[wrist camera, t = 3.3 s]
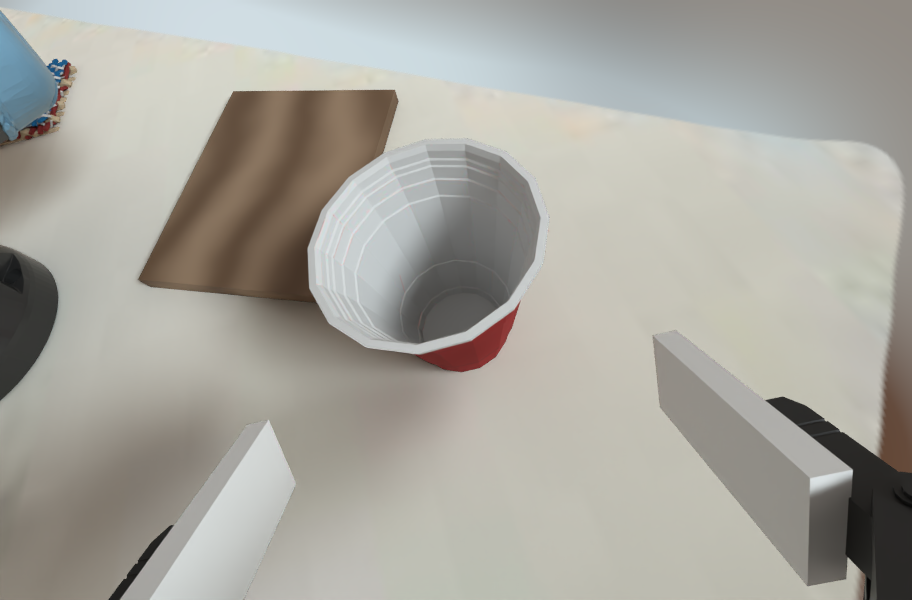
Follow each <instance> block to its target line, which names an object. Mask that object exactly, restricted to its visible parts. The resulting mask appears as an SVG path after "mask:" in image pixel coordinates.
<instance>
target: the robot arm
mask: <svg viewBox="0 0 912 600" xmlns="http://www.w3.org/2000/svg"><path fill="white" fill-rule="evenodd" d="M57 96H58V87H57V83H56V80H55V78H54V76H53V75H52V73H51V71H50V70H49V69H48V67H47V66H46V65H45V63H44V62H43V61H42V60H41V58H40V57H39V56H38V55H37V53H36V52H35V51H34V50H33V49H32V47H31V46H30V45H29V44H28V42H27V41H26V40H25V39H24V38H23V36H22V35H21V34H20V33H19V32H18V31H17V29H16V28H15V27H14V26H13V25H12V23H11V22H10V21H9V20H8V19H7V18H6V16H5V15H4V14H3V13H2V12H1V11H0V144H1V143H2V142H4V141H6V140H7V139H8V140H10V141H13V140H15V139H16V138H17V137H18V132H19V131H20V130H22V129H23V128H24V127H26V126H27V125H29V124H30V123H31V122H33V121H34V120H36V119H37V118H39V117H40V116H41V115H43V114H44V113H46V112H47V111H48V110H50V109H51V108H52V107H53V105H54V104H55V103H56V101H57ZM57 304H58V295H57V287H56V283H55V281H54V278H53V276H52V274H51V273H50V272H49V270H48V269H47V268H46V267H45V266H44V265H42V264H41V263H39V262H38V261H36V260H34V259H32V258H30V257H28V256H26V255H24V254H22V253H20V252H18V251H16V250H14V249H11V248H8V247H6V246H3V245H0V400H1V399H2V398H3V397H4V396H5V395H6V394H7V393H8V392H10V391H11V390H12V389H13V387H14V386H15V385H16V384H17V383H18V382H19V381H20V380H21V379H22V378H23V376H24V375H25V374H26V373H27V371H28V370H29V369H30V367H31V366H32V365H33V363H34V362H35V360H36V359H37V357H38V356H39V354H40V352H41V351H42V349H43V347H44V345H45V343H46V341H47V339H48V337H49V335H50V332H51V330H52V327H53V324H54V320H55V317H56V312H57ZM653 344H654V354H655V364H656V373H657V383H658V393H659V403H660V408H661V409H662V410H663V411H664V413H665V414H666V415H667V416H668V418H669V419H670V420H671V421H672V422H673V424H674V425H675V426H676V427H677V428H678V430H679V431H680V432H681V433H682V435H683V436H684V437H685V438H686V439H687V441H688V442H689V443H690V444H691V445H692V447H693V448H694V449H695V450H696V452H697V453H698V454H699V455H700V456H701V458H702V459H703V460H704V461H705V462H706V464H707V465H708V466H709V467H710V468H711V470H712V471H713V472H714V473H715V475H716V476H717V477H718V478H719V479H720V481H721V482H722V483H723V484H724V485H725V487H726V488H727V489H728V490H729V492H730V493H731V494H732V495H733V496H734V498H735V499H736V500H737V501H738V502H739V504H740V505H741V506H742V507H743V509H744V510H745V511H746V512H747V513H748V515H749V516H750V517H751V518H752V519H753V521H754V522H755V523H756V524H757V526H758V527H759V528H760V529H761V530H762V532H763V533H764V534H765V535H766V536H767V538H768V539H769V540H770V541H771V543H772V544H773V545H774V546H775V547H776V549H777V550H778V551H779V552H780V553H781V555H782V556H783V557H784V558H785V559H786V561H787V562H788V563H789V564H790V566H791V567H792V568H793V569H794V570H795V572H796V573H797V574H798V575H799V576H800V578H801V579H802V580H803V581H804V583H805V584H806V585H807V586H811V585H817V584H822V583H827V582H833V581H838V580H844V579H846V572H847V557H848V558H849V559H850V560H851V561H852V562H853V563H854V564H855V565H856V566H857V567H858V568H859V569H860V570H861V571H862V572H863V573H864V574H865V586H864V598H863V600H912V473H906V472H898V471H897V470H895V469H894V468H892V467H891V466H890V465H888V464H887V463H885V462H884V461H883V460H881V459H880V458H878V457H877V456H876V455H874V454H873V453H871V452H870V451H869V450H867V449H866V448H864V447H863V446H862V445H860V444H859V443H857V442H856V441H855V440H853V439H852V438H850V437H849V436H848V435H846V434H845V433H843V432H840V431H839V429H838V428H836V427H835V426H834V425H832V424H831V423H829V422H828V421H827V422H826V421H825V420H824V418H822V417H821V416H820V415H818V414H817V413H815V412H814V411H813V410H811V409H810V408H808V407H807V406H805V405H803V404H800V403H798V402H795V401H793V400H790V399H787V398H785V397H779V398H774V399H769V400H764V399H763V398H761V397H760V396H759V395H758V394H756V393H755V392H754V391H753V390H751V389H750V388H749V387H748V386H746V385H745V384H744V383H742V382H741V381H740V380H739V379H737V378H736V377H735V376H734V375H732V374H731V373H730V372H729V371H727V370H726V369H725V368H724V367H722V366H721V365H720V364H718V363H717V362H716V361H715V360H713V359H712V358H711V357H710V356H708V355H707V354H706V353H705V352H703V351H702V350H701V349H699V348H698V347H697V346H696V345H694V344H693V343H692V342H691V341H689V340H688V339H687V338H686V337H684V336H683V335H682V334H680V333H679V332H678V331H677V330H675V331H670V332H666V333H661V334H656V335H653ZM295 486H296V482H295V479H294V477H293V475H292V473H291V470H290V468H289V466H288V463H287V461H286V459H285V456H284V454H283V452H282V449H281V447H280V445H279V443H278V440H277V438H276V436H275V433H274V431H273V429H272V426H271V424H270V422H269V420H265V421H261V422H256V423H252V424H247V426H246V427H245V428H244V430H243V431H242V433H241V434H240V435H239V437H238V438H237V439H236V441H235V442H234V444H233V445H232V446H231V448H230V449H229V450H228V452H227V453H226V455H225V456H224V457H223V459H222V460H221V461H220V463H219V464H218V466H217V467H216V468H215V470H214V471H213V472H212V474H211V475H210V477H209V478H208V479H207V481H206V482H205V483H204V485H203V486H202V488H201V489H200V490H199V492H198V493H197V494H196V496H195V497H194V499H193V500H192V501H191V503H190V504H189V505H188V507H187V508H186V510H185V511H184V512H183V514H182V515H181V516H180V518H179V519H178V521H177V522H176V523H175V525H171V526H169V527H168V528H167V529H166V530H165V531H164V532H162V533H161V534H160V535H159V536H158V537H157V538H156V539H155V540H154V541H153V542H151V544H150V545H149V546H148V548H147V549H146V550H145V552H144V553H143V554H142V556H141V557H140V558H139V560H138V564H135V565H134V566H133V568H132V569H131V570H130V572H129V573H128V574H127V578H126V579H124V580H123V581H122V582H121V584H120V585H119V586H118V588H117V589H116V590H115V592H114V593H113V594H112V596H111V597H110V598H109V600H244V598H245V596H246V594H247V592H248V590H249V587H250V585H251V583H252V581H253V579H254V576H255V574H256V572H257V570H258V567H259V565H260V563H261V561H262V559H263V556H264V554H265V552H266V550H267V548H268V545H269V543H270V541H271V539H272V536H273V534H274V532H275V530H276V528H277V525H278V523H279V521H280V519H281V517H282V514H283V512H284V510H285V508H286V506H287V503H288V501H289V499H290V497H291V494H292V492H293V490H294V488H295Z"/></svg>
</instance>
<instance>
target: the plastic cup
mask: <svg viewBox="0 0 912 600" xmlns="http://www.w3.org/2000/svg"><path fill="white" fill-rule="evenodd" d="M549 218H550V217H549V214H548V211H547V208H546V206H545V203H544V200H543V197H542V195H541V192H540V189H539V186H538V183H537V181H536V178H535V177H534V176H533V175H531V174H530V173H529V172H528V171H527V170H526V169H525V168H524V167H523V166H522V165H521V164H520V163H518V162H517V161H516V160H515V159H514V158H513V157H512V156H511V155H510V154H509V153H508V152H506V151H504V150H501V149H498V148H495V147H492V146H489V145H486V144H483V143H480V142H477V141H474V140H471V139H468V138H462V139H425V140H422V141H419V142H416V143H413V144H409V145H406V146H403V147H400V148H397V149H394V150H391V151H388V152H385V153H383V154H382V155H380V156H379V157H377V158H376V159H375V160H373V161H372V162H370V163H369V164H367V165H366V166H364V167H363V168H361V169H360V170H358V171H357V172H355V173H354V174H352V175H351V176H350V177H348V179H347V180H346V181H345V182H344V183H343V185H342V186H341V187H340V188H339V190H338V191H337V192H336V193H335V194H334V196H333V197H332V198H331V199H330V201H329V202H328V203H327V204H326V205H325V207H324V208H323V209H322V211H321V214H320V216H319V219H318V222H317V224H316V227H315V230H314V232H313V235H312V238H311V241H310V243H309V246H308V271H309V289H310V291H311V292H312V294H313V296H314V298H315V300H316V301H317V303H318V305H319V307H320V309H321V310H322V312H323V314H324V316H325V317H326V319H327V321H328V323H329V324H330V325H332V326H333V327H335V328H336V329H338V330H340V331H341V332H343V333H344V334H346V335H347V336H349V337H350V338H352V339H354V340H355V341H357V342H358V343H360V344H361V345H363V346H364V347H366V348H372V349H380V350H388V351H396V352H403V353H411V354H414V355H416V356H418V357H419V358H421V359H423V360H425V361H427V362H429V363H431V364H435V365H437V366H439V367H440V368H442V369H445V370H451V371H458V372H464V371H469V370H473V369H477V368H480V367H482V366H483V365H485V364H486V363H488V362H489V361H490V360H492V359H493V358H495V357H496V356H497V354H498V353H499V351H500V349H501V348H502V346H503V345H504V343H505V342H506V339H507V336H508V333H509V332H510V330H511V329H512V326H513V323H514V320H515V316H516V313H517V310H518V307H519V304H520V301H521V299H522V297H523V295H524V294H525V292H526V291H527V289H528V288H529V286H530V284H531V283H532V281H533V280H534V278H535V276H536V275H537V273H538V272H539V270H540V269H541V267H542V265H543V262H544V255H545V247H546V240H547V233H548V225H549Z"/></svg>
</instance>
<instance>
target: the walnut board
mask: <svg viewBox="0 0 912 600" xmlns="http://www.w3.org/2000/svg"><path fill="white" fill-rule="evenodd" d="M397 104H398V99H397V95H396V92H395V90H330V91H233V93H232V95H231V97H230V99H229V101H228V103H227V105H226V107H225V109H224V111H223V113H222V115H221V117H220V119H219V121H218V123H217V125H216V127H215V129H214V131H213V133H212V135H211V137H210V139H209V141H208V143H207V145H206V147H205V148H204V150H203V152H202V154H201V156H200V158H199V160H198V162H197V164H196V166H195V168H194V170H193V172H192V174H191V176H190V178H189V180H188V182H187V184H186V186H185V188H184V190H183V192H182V194H181V196H180V198H179V200H178V202H177V204H176V206H175V208H174V210H173V212H172V214H171V216H170V218H169V220H168V222H167V224H166V226H165V228H164V230H163V232H162V234H161V236H160V238H159V240H158V242H157V244H156V245H155V247H154V249H153V251H152V253H151V255H150V257H149V259H148V261H147V263H146V265H145V267H144V269H143V271H142V273H141V275H140V277H139V279H138V280H140V281H141V282H143V283H145V284H146V285H148V286H150V287H158V288H168V289H179V290H189V291H200V292H210V293H221V294H231V295H241V296H252V297H262V298H273V299H283V300H294V301H304V302H314V303H317V301H316V300H315V298H314V296H313V294H312V292H311V291H310V289H309V271H308V246H309V243H310V241H311V238H312V235H313V232H314V230H315V227H316V224H317V222H318V219H319V216H320V214H321V211H322V209H323V208H324V207H325V205H326V204H327V203H328V202H329V201H330V199H331V198H332V197H333V196H334V194H335V193H336V192H337V191H338V190H339V188H340V187H341V186H342V185H343V183H344V182H345V181H346V180H347V179H348V177H350V176H351V175H352V174H354V173H355V172H357V171H358V170H360V169H361V168H363V167H364V166H366V165H367V164H369V163H370V162H372V161H373V160H375V159H376V158H377V157H379V156H380V155H382V154H383V151H384V148H385V145H386V141H387V138H388V135H389V131H390V128H391V124H392V121H393V118H394V114H395V111H396V108H397Z"/></svg>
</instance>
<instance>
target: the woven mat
mask: <svg viewBox="0 0 912 600" xmlns="http://www.w3.org/2000/svg"><path fill="white" fill-rule="evenodd" d="M58 62H59V61H58V60H57V59H54V60H53V61H52V63H50V64H49V66H47V67H48V69H49V70H50V71H51V73H52V75H53V76H54V78H55V80H56V83H57V87H58V96H57V101H56V103H55V104H54V105H53V107H52V108H51V109H50V110H48V111H47V112H46V113H44V114H43V115H41V116H40V117H39V118H37V119H36V120H34V121H33V122H31V123H30V124H29V125H27V126H26V127H24V128H23V129H22V130H20V131H19V132H18V137H17V138H16V139H15V140H13V141H10V140H8V139H7V140H6V141H4V142H2V143H1V144H0V146H1V145H5V144H9V143H13V142H17V141H21V140H25V139H30V138H32V136H33V137H36V136H40V135H44V134H48V133H52V132H55V131H58V130H59V127H55V128H52V127H53V125H55V124H56V123H59V122H60V117H59V116H63V115H64V112H57V113H56V111H58V110H62V109H63V108H65V104H64V102H66V99H67V98H64V97H63V96H64V95H67V94H68V93H69V91H68V90H67V91H63V90H66V89H68V87H71V85H72V82H71V81H73V80H75V77H72V78H68V76H69V75H72V74H74V73H76V72H77V69H76V68H75V67H74V66H71V64H70V63H69V62H68V61H66V60H62V62H59V63H58ZM67 62H68V63H67ZM61 79H62V80H61ZM49 128H50V129H49ZM36 129H37V130H36Z"/></svg>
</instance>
